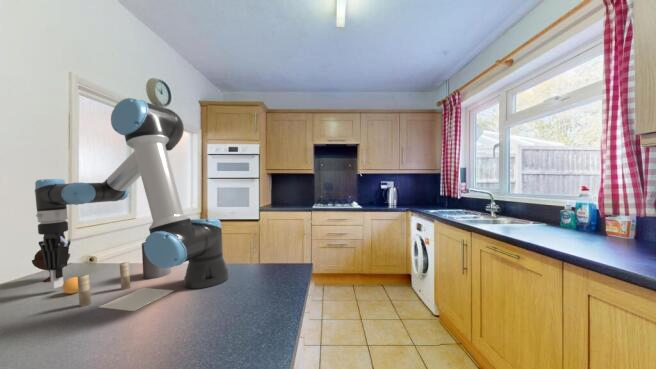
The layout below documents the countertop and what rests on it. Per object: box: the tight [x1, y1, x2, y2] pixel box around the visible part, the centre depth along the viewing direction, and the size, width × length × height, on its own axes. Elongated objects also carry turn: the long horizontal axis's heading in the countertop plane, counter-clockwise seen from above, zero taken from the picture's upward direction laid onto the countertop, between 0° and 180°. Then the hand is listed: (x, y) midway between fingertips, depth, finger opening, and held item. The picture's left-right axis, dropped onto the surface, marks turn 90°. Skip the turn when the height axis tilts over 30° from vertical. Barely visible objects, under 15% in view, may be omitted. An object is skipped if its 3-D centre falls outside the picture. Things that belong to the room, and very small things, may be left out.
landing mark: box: [98, 287, 175, 312], centre depth 84 cm, size 14×14×1 cm
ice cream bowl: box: [31, 249, 71, 283], centre depth 109 cm, size 11×11×15 cm
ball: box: [61, 276, 79, 295], centre depth 93 cm, size 6×6×6 cm
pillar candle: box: [141, 241, 172, 280], centre depth 108 cm, size 10×10×15 cm
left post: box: [77, 274, 92, 308], centre depth 82 cm, size 3×3×9 cm
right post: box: [119, 261, 131, 291], centre depth 94 cm, size 3×3×9 cm
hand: (57, 286), depth 95 cm, fingers closed
